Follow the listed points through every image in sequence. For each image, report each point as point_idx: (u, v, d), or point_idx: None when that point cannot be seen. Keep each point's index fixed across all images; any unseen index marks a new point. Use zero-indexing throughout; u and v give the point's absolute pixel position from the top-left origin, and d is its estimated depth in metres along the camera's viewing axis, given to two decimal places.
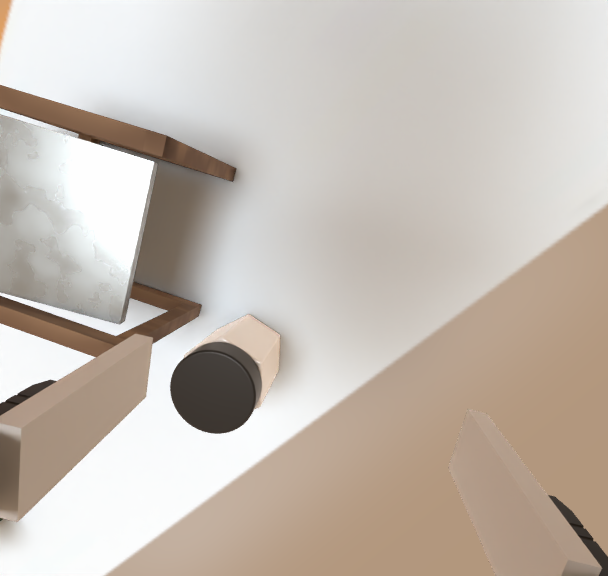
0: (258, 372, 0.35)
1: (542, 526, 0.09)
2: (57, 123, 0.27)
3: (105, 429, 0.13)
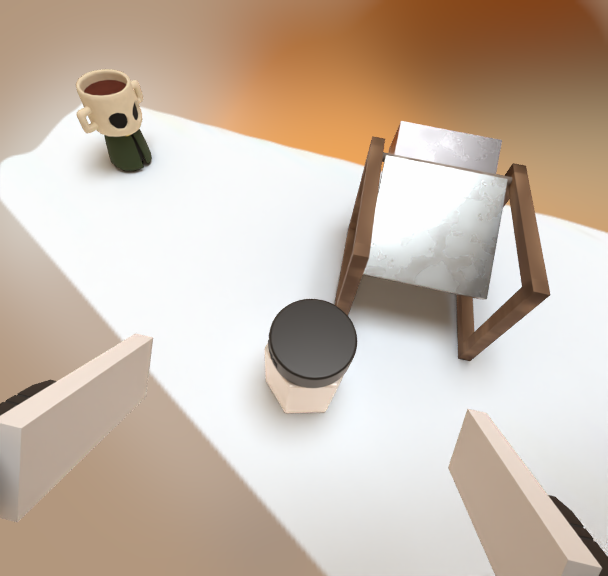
0: (330, 383, 0.34)
1: (542, 526, 0.09)
2: (523, 224, 0.38)
3: (105, 429, 0.13)
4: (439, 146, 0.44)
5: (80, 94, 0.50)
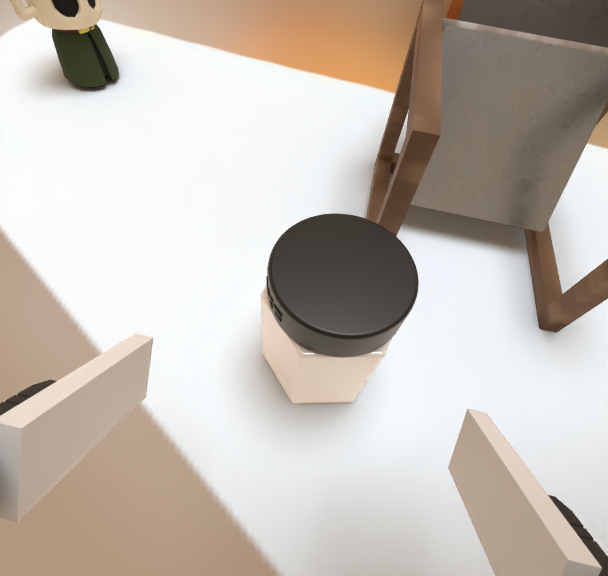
0: (372, 349, 0.20)
1: (542, 526, 0.09)
2: None
3: (105, 429, 0.13)
4: None
5: None
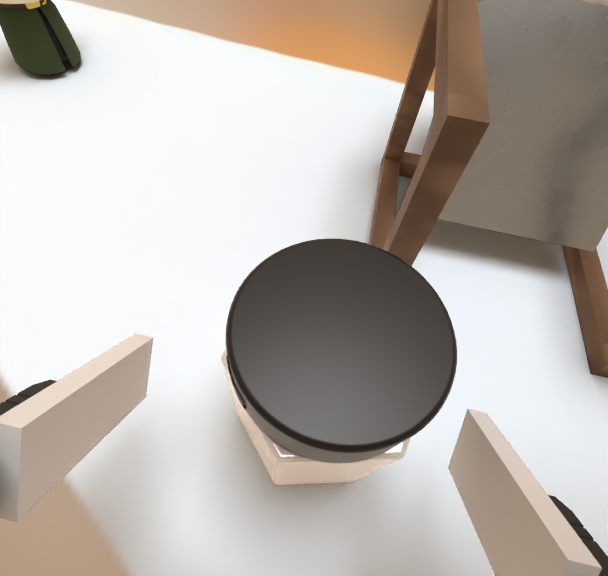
0: (386, 451, 0.13)
1: (542, 526, 0.09)
2: None
3: (105, 429, 0.13)
4: None
5: None
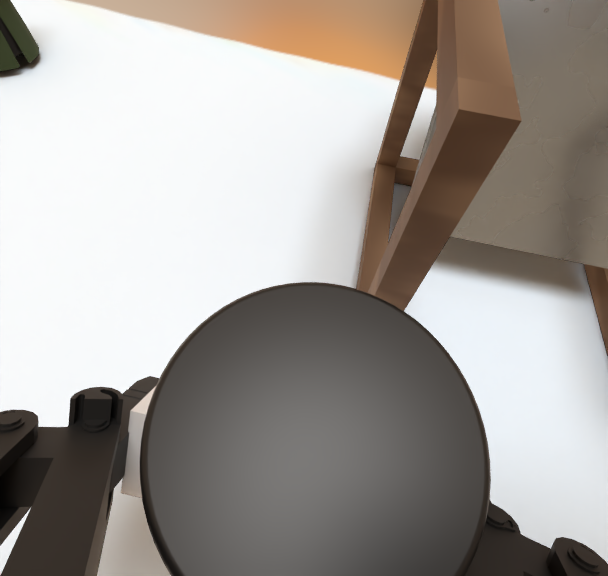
0: None
1: None
2: None
3: None
4: None
5: None
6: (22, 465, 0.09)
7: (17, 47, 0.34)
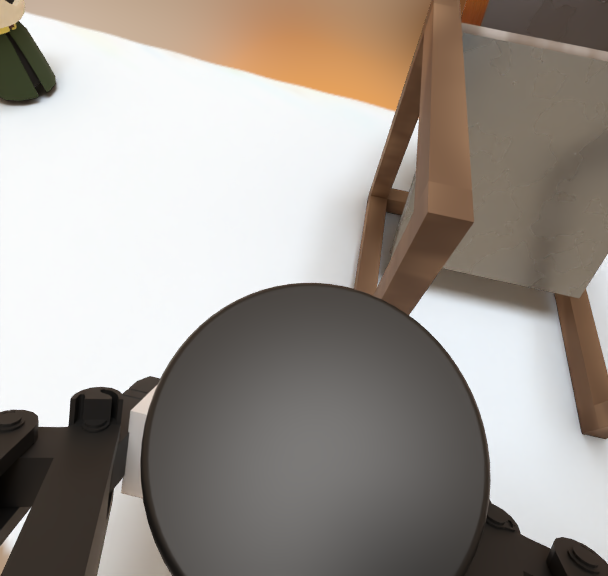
0: None
1: None
2: None
3: None
4: None
5: None
6: (22, 465, 0.09)
7: (36, 78, 0.37)
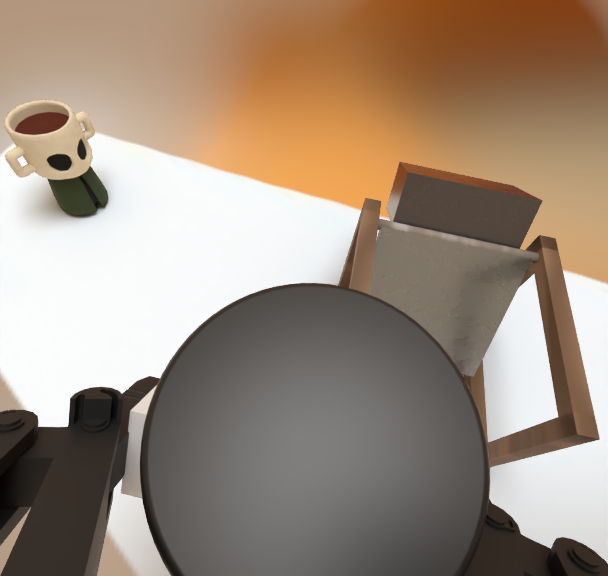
0: None
1: None
2: (557, 326, 0.29)
3: None
4: (454, 207, 0.34)
5: (9, 132, 0.40)
6: (22, 465, 0.09)
7: (96, 199, 0.51)
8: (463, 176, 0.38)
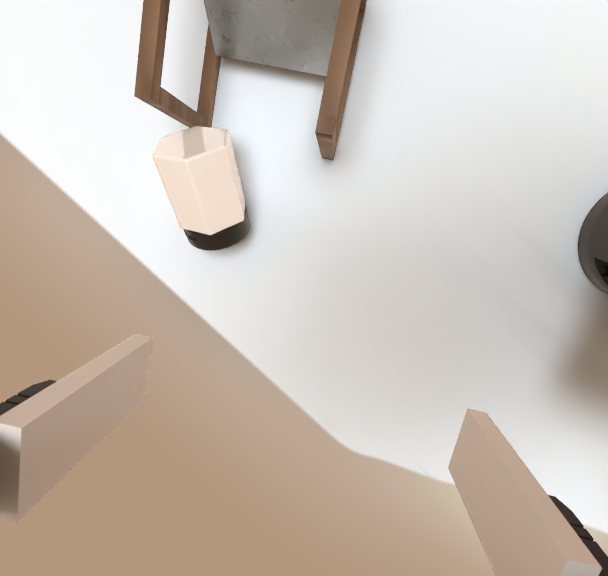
0: None
1: (542, 526, 0.09)
2: (336, 27, 0.31)
3: (105, 429, 0.13)
4: None
5: None
6: None
7: None
8: None
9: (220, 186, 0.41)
